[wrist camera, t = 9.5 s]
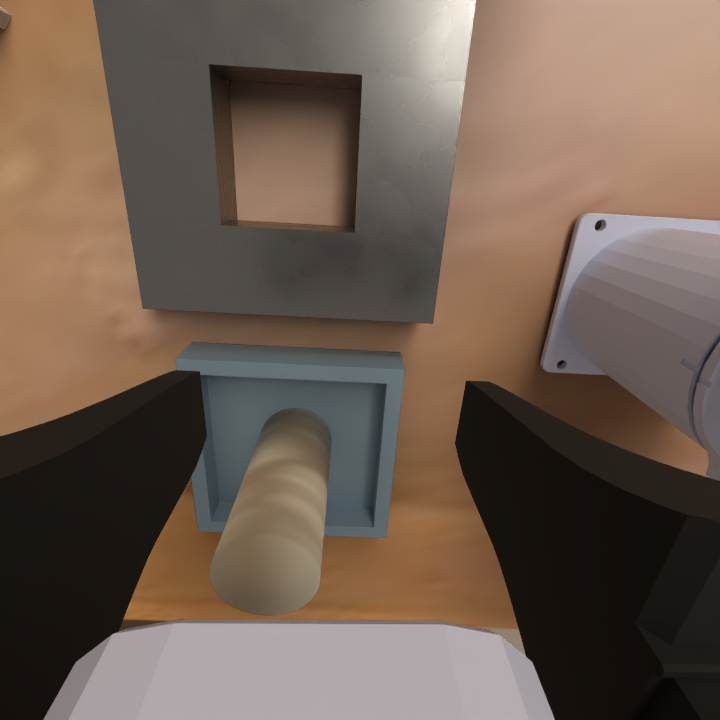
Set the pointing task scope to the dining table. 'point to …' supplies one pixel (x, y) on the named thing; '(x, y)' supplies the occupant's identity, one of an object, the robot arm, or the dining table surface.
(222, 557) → the birch peg
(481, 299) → the dining table surface
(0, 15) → the pliers
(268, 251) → the hitch block
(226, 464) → the slate tray
